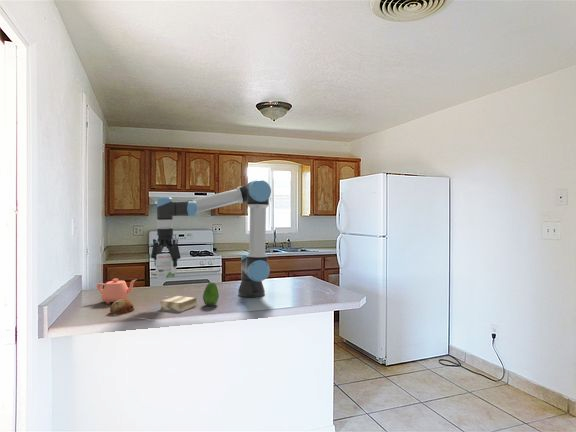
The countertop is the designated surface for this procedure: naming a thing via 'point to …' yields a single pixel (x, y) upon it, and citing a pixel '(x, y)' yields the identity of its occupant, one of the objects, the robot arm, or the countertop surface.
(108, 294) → the teapot
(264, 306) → the countertop surface
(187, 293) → the countertop surface
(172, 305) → the maple plinth
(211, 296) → the avocado
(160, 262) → the ink box
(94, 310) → the countertop surface
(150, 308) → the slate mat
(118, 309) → the bread roll
